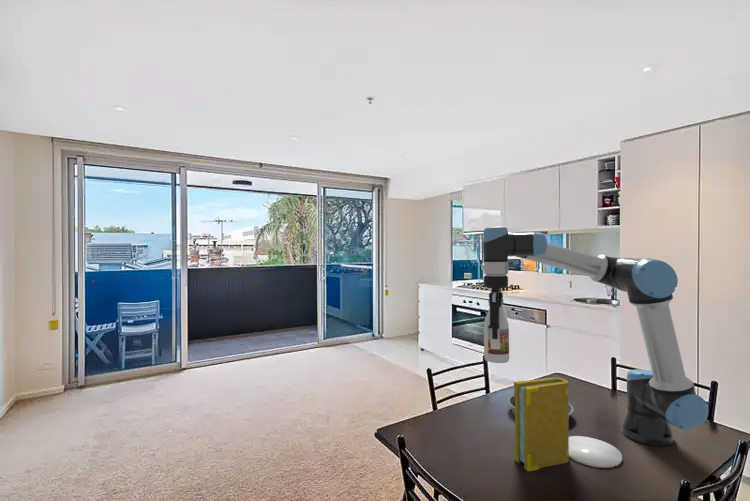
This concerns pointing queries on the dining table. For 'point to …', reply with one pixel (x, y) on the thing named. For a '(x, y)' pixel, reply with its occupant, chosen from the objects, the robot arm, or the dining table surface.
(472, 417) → the dining table surface
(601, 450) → the white round plate
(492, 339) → the robot arm
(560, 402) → the book
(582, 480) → the dining table surface
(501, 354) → the milk bottle
